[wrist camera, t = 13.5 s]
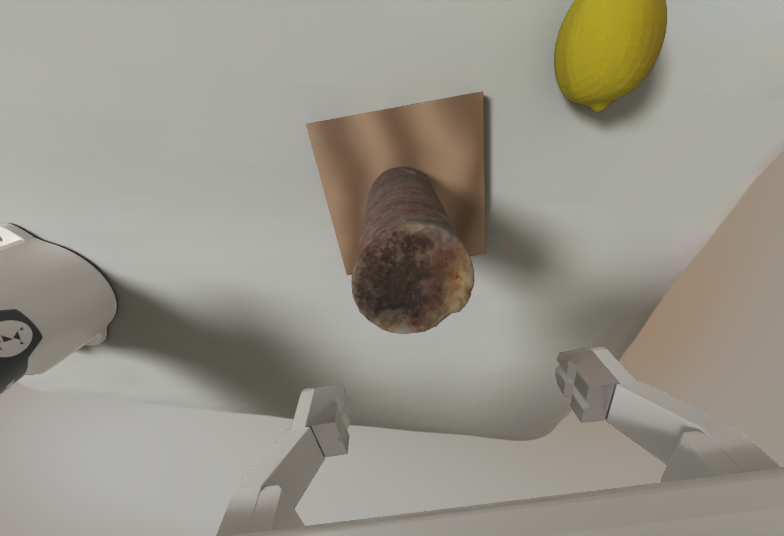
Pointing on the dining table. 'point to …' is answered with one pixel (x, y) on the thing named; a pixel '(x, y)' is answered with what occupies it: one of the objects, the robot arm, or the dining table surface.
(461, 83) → the dining table surface
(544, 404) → the dining table surface
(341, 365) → the dining table surface
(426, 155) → the walnut board
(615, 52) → the lemon
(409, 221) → the wooden log
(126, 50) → the dining table surface
